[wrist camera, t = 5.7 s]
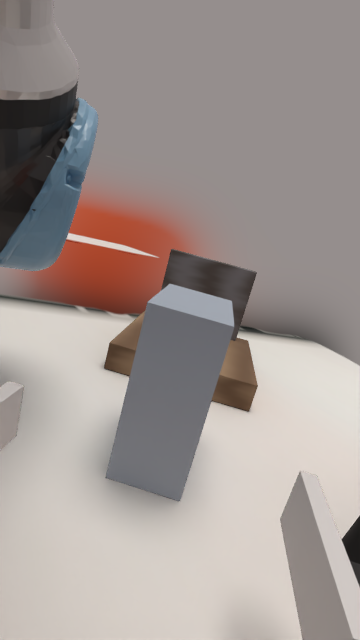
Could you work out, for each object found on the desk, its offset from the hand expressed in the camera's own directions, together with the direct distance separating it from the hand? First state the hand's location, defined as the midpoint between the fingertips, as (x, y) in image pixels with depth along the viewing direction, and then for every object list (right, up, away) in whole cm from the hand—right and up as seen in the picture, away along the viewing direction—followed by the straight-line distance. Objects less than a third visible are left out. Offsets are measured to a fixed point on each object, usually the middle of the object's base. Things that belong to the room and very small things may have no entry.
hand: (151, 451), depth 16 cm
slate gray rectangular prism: (-1, -4, +10) cm, 11 cm away
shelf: (+2, 0, +29) cm, 29 cm away
